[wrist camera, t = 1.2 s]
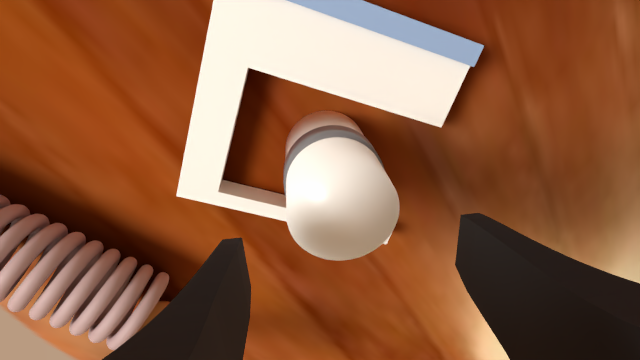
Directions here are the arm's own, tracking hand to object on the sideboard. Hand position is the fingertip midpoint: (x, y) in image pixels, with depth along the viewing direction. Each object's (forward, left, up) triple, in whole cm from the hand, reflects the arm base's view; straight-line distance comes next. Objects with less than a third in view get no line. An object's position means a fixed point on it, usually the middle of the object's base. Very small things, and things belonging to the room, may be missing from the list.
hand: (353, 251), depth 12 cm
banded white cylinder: (0, 0, -9) cm, 9 cm away
